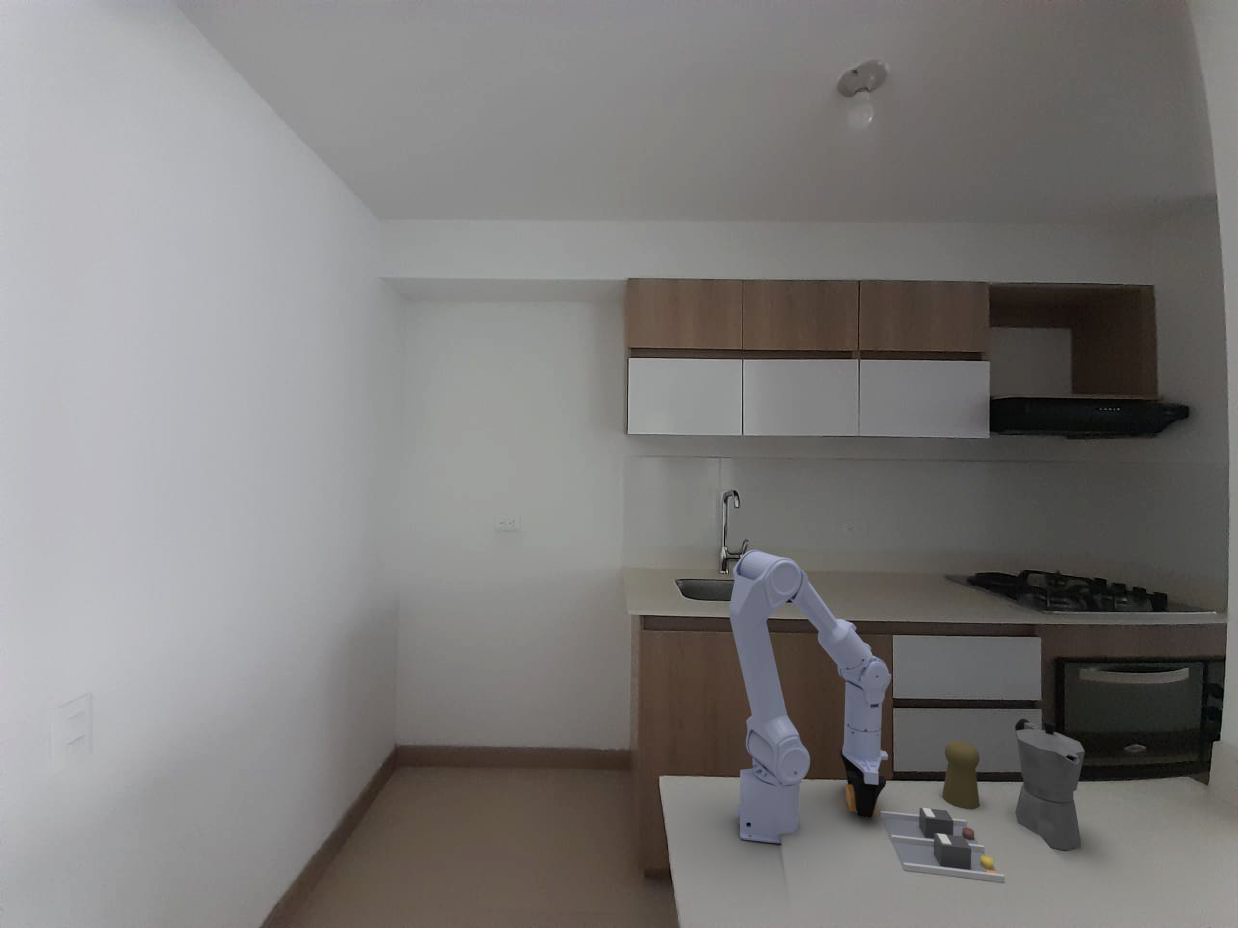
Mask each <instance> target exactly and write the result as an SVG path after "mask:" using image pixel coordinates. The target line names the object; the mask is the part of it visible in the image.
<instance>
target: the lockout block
mask: <svg viewBox="0 0 1238 928" xmlns="http://www.w3.org/2000/svg"><path fill="white" fill-rule="evenodd" d="M845 800H846V803H847V806H848V808H849V811H850V812H856V813H857V810H856V804H855V795H854V789H853V785H849V784H848V783H846V784H845ZM874 814H875V815H876V814H877V804H876V805H875V809H874V812H873V815H874Z"/></svg>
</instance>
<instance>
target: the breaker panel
mask: <svg viewBox="0 0 1238 928" xmlns="http://www.w3.org/2000/svg"><path fill="white" fill-rule="evenodd" d="M879 817H880V819H881V822H882V824H883V826H884V828H885V831H886V834H887V835H888V837H889V840H890V842H891V844H892V846H893V848H894V851H895V852H896V853H895V854H896V855H897V857H898V860H899V862H900V864H901V866H902V870H903V871H906V872H914V873H922V874H930V875H936V876H938V875H939V876H945V877H952V878H953V877H954V878H961V879H962V878H963V879H969V880H979V881H985V882H994V883H995V882H996V883H1002V884H1003V883H1005V880H1006V879H1005V878H1006V876H1005V875H1004V874H1003V873H999V872H998V870H997V869H996V868H995V864H994V863H995V861H994V859H993V857H991V856H989V855H987V854H986V853H985V846H984V844H979V843H978V841H977V839H976V837H975V831H974V830H973V829H972V828H970V827H968V821H967V820H966V819H962V818H952V820H953V821H954V822H953V835H956V836H963V837H964V838H965V840H966V841H967V843H968V844H969V846H970V847H971V870H968V869H959V868H951V867H943V866H940V864H939V862H938V861H937V859H936V857H935V855H934V839H933V838H925V837H924V835H923V833H922V831H921V829H920V827H919V814H914V813H907V812H895V811H887V810H879Z"/></svg>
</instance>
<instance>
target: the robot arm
mask: <svg viewBox="0 0 1238 928" xmlns="http://www.w3.org/2000/svg"><path fill="white" fill-rule="evenodd" d="M732 574H733V578H734V583H733V589H732V591H731V596H730V597H731V598H730V602H729V607H728V608H729V609H728V617H729V619H730V625H731V629H732V634H733V638H734V643H735V646H736V651H737V656H738V659H739V664H740V668H741V672H742V676H743V677H742V678H743V681H744V686H745V690H746V691H745V692H746V695H747V700H748V704H749V707H750V712H751V715H750V716H749V717H748V718H747V719H746V721H745V724H746V729H747V733H746V737H745V747H746V751H747V752H748V754H749V755H750V756H751V757H752V766H753V767H752V768H746V769H740V774H739V776H740V777H739V804H738V805H737V818H739V838H740V839H741V840H746V841H755V842H763V843H773V844H778V845H779V844H780V845H782V844H783V843H782V836H781V835H788V834H791V833H794V832H795V831H797V830H798V828H799V823H800V822H799V820H800V819H799V818H800V817H799V814H800V784H802V780H803V779H804V778H805V777H806V775H807V773H808V772H809V770H810V765H811V757H810V753H809V751H808V749H807V748H806V746H804V745H803V743H802V741H801V738H800V733H799V732H798V730H797V729H796V727H795V725H794V724H793V722H792V721H791V719H790V718H789V716H788V712H787V708H786V705H785V699H784V695H783V690H782V686H781V682H780V678H779V673H778V668H777V664H776V660H775V659H776V658H775V655H774V649H773V645H772V640H771V637H770V632H769V628H768V624H767V621H768V619H769V617H771V616H772V614H774V613H775V612H776V611H777V610H779V609H780V608H781V607H782V606H783V605H784V604H786V603H787V602H788V601H789V600H790V601H791V602H792V603H793V604H794V606H796V608H797V609H798V610H799V611H800V612H801V614H803V615H804V616H805V618H806V619H807V620H808V621H809V622H810V623H811V624H812V625H813V627H814V628H815V629H816V630H817V631H818V634H817V641H818V643H819V645H820V646H821V647H822V649H823V650H824V651H825V652H826V654H828V656H829V657H830V658H831V659H832V660H833V662H834V663H835V664H836V666H837V672H838V675H839V677H841V678H843V680H845V692H844V725H843V726H844V732H843V746H842V749H840V750H838V753H839V755H840V758H841V760H842V762H843V766H844V770H845V775H846V781H847V784H849V785H853V789H854V795H855V804H856V810H857V812H856V813H857V817H859V818H867V819H872V818H873V816H874V814H873V812H874V809H875V805H876V806H877V801H878V798H879V797H880V794H881V793H882V791H883V790H884V788H885V787H886V785H887V780H886V777H885V776H884V775H883V776H881V775H879V774H880V773H879V768H880V765H881V762H882V761H888V759H889V755H888V753H887V751H886V750H882V749H881V748H882V747H881V746H882V745H881V743H882V741H881V739H882V716H883V715H882V714H883V713H882V711H883V710H882V709H883V708H882V707H883V702H884V700H885V698H886V695H885V694H886V691H887V689H888V687H889V686H890V683H891V680H892V674H891V673H889V669H888V667H887V664H886V663H885V661H884V660H883V659H881V658H879V657H877V656H875V655H873V653H872V651H871V650H872V647H871V646H870V644H868V643H867V642H866V643H865V642H864V641H863V640H862V639H861V637H860V636H859V634H857V632H856V630H857V627H856V625H855V624H854V623H852V622H850V621H847V620H845V619H841V618H835V616H834V614H833V613H832V612H831V610H830V609H829V607H828V606H827V605H826V603H825V602H824V601H823V599H822V598H821V596H820V595H819V593H818V592H817V590H815V588H814V586H813V585H812V583H811V582H810V580H809V577H808V574H807V573H806V572H805V571H803V570H802V569H801V568H800V566H799V565H798V563H797V562H796V561H794V560H793V559H792V558H789V557H780V556H777V555H773V554H770V553H767V552H764V551H763V550H761V549H760V550H759V549H751V550H748V551H747V552H745V553H744V554H743V555H742V556H741V557H740V558H739V560H738V562H737V563H736V564H735V565H734V567H733V569H732Z"/></svg>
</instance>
